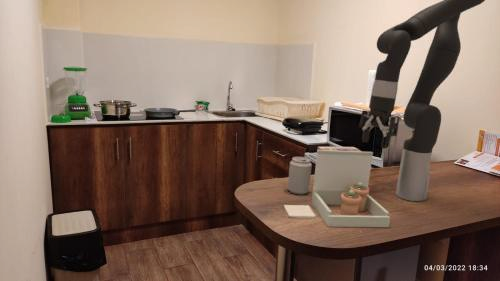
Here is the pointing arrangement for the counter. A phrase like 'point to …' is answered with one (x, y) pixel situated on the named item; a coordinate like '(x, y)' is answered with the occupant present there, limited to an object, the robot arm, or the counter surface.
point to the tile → (299, 211)
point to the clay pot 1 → (350, 203)
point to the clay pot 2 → (363, 193)
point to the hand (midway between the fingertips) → (374, 145)
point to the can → (299, 175)
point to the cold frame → (344, 187)
